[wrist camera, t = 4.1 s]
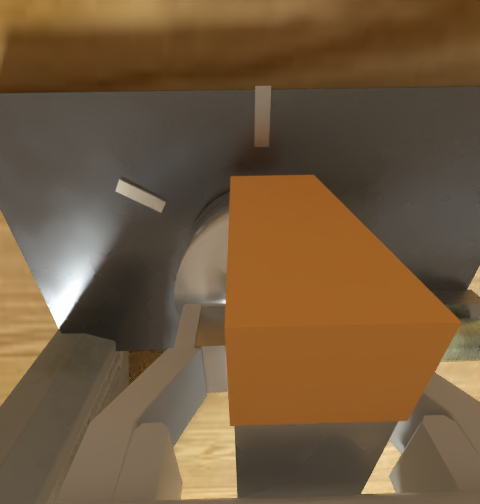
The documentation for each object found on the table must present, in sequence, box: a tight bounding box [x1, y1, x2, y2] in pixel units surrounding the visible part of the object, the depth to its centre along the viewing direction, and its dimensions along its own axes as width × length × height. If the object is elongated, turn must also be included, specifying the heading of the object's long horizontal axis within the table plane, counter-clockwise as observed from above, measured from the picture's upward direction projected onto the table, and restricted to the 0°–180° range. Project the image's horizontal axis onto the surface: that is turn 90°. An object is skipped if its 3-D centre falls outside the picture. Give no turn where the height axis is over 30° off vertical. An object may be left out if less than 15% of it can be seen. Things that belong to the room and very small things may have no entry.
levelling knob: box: [174, 175, 462, 498], centre depth 8 cm, size 8×6×8 cm
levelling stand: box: [0, 86, 480, 362], centre depth 11 cm, size 20×12×5 cm, turn 91°
